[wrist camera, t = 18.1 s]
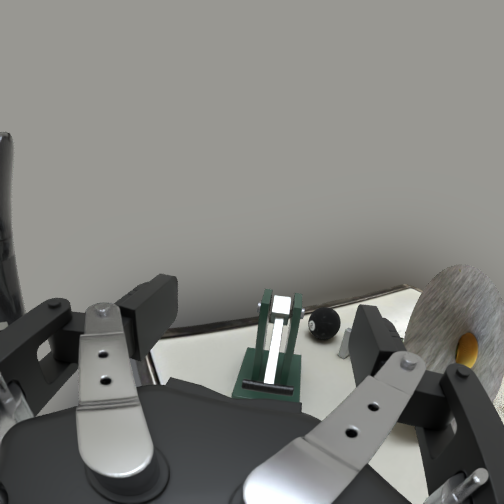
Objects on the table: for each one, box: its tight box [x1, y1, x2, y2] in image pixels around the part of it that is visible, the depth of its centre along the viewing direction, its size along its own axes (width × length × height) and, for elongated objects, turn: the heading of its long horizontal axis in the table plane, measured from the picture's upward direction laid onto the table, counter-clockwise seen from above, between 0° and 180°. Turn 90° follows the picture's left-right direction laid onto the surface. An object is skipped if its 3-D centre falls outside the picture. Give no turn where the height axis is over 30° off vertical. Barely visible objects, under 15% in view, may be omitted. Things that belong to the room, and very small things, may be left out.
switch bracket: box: [232, 289, 305, 402], centre depth 38 cm, size 12×9×14 cm
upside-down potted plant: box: [401, 265, 504, 434], centre depth 34 cm, size 25×18×25 cm
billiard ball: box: [308, 307, 340, 339], centre depth 52 cm, size 6×6×6 cm
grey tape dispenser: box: [338, 328, 352, 359], centre depth 48 cm, size 6×1×10 cm
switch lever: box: [241, 296, 294, 396], centre depth 32 cm, size 13×6×2 cm, turn 171°
